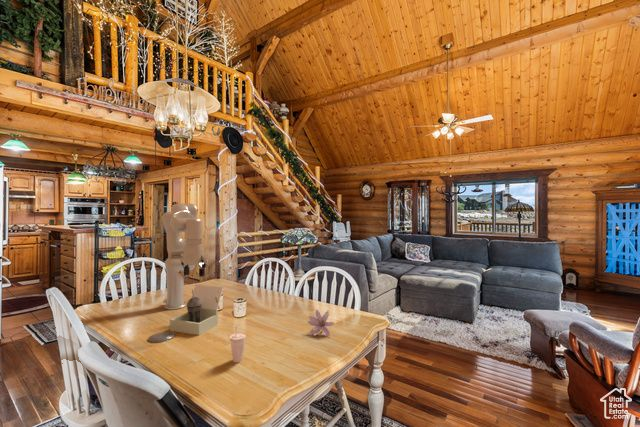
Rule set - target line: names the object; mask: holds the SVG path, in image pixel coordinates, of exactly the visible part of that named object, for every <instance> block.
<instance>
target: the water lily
mask: <svg viewBox="0 0 640 427" xmlns="http://www.w3.org/2000/svg"><path fill="white" fill-rule="evenodd" d="M314 313H315V316H313V315H309V316H308V319H309V321H307V324H308V325H310V326H312V327H313V326H314V327H313V328H312V329H311V330H310V331H309V334H308V336H312V335H313V336H317V335H318V334H319V333H320V332H322V333H323V334H324V336H325V337H327V338H331V335H330V331H329V329H328V327H332V326H333V325H335V323H334V322H333V321H328V318H329V316H330V312H329V310H326V311H325V312H324V314H322V315H321V313H320V311H319V310H318V309H315V312H314Z"/></svg>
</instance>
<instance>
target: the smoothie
mask: <svg viewBox="0 0 640 427" xmlns="http://www.w3.org/2000/svg"><path fill="white" fill-rule="evenodd" d="M246 337H247V335H246V334H245V333H241V332H239V333H238V325H237V324H235V333H233V334H231V335H229V342H230V348H231V353H232V354H231V355H232V361H233V363H241V362H242V361H243V359H244V350H245V343H246V342H245V341H246V339H247V338H246Z"/></svg>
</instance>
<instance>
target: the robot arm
mask: <svg viewBox="0 0 640 427" xmlns="http://www.w3.org/2000/svg"><path fill="white" fill-rule="evenodd" d="M197 216H198V207H197V205H195V204H194V203H175V204H173V205H172V206H171V208H170V211H167V212H164V213H163V214H162V216H161V220H162V225H163V228H164V230H165V233H166V250H167V254H170V255H178V256H170V257H168V258H165V259H166V260H165V261H164V265H165V266H164V267H165V271H166V298H165V299H163V303H165V304H164V307H163V308H164V309H165V310H171V311H172V310H179V309H182V308H185V307H187V302H185V301H184V300H185V299H184V298H185V297H184V291H185V288H184V286H185V285H184V284H185V283H184V281H185V279H184V276H189V275H190V271H193V270H194V269H195V267H196V266H198V267H199V269H198V275H199V277H201V278H202V277H204V276H205V274H206V273H205V272H206V271H205V268H207V266H208V263H209V262H210V260H209V259H208V258H206V257H205V252H204V251H205V250H204V246H203V240H202V239H203V238H202V237H203V235H202V233H203V232H202V229H203V228H202V227H203V224H202V219H201V218H199V217H197ZM182 233H185V238H182ZM180 272H183V275H182V274H181V273H180Z"/></svg>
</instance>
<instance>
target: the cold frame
mask: <svg viewBox="0 0 640 427" xmlns="http://www.w3.org/2000/svg"><path fill="white" fill-rule="evenodd" d="M194 285H195V286H194V289H193V294H194V297H197V298H199V299H200V300H201V304H202V305H201V312H200V323H196V322H189V317H188V311H186V312H185V313H182V314H180V315H177V316H175V317H173V318H170V320H169V332H178V333H183V334H189V335H195V336H200V335H202V334H204V333H206V332H209V330H211V329H213V328H214V327H216V326H218V325H219V324H218V323H219V322H218V320H219V318H218V315H219V313H218V311H219V310H220V308H221V307H220V302H221V298H222V293H223V290H224V287H223V286H214V285H206V284H205V285H202V284H194ZM191 298H193V295H192V296H191Z"/></svg>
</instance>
